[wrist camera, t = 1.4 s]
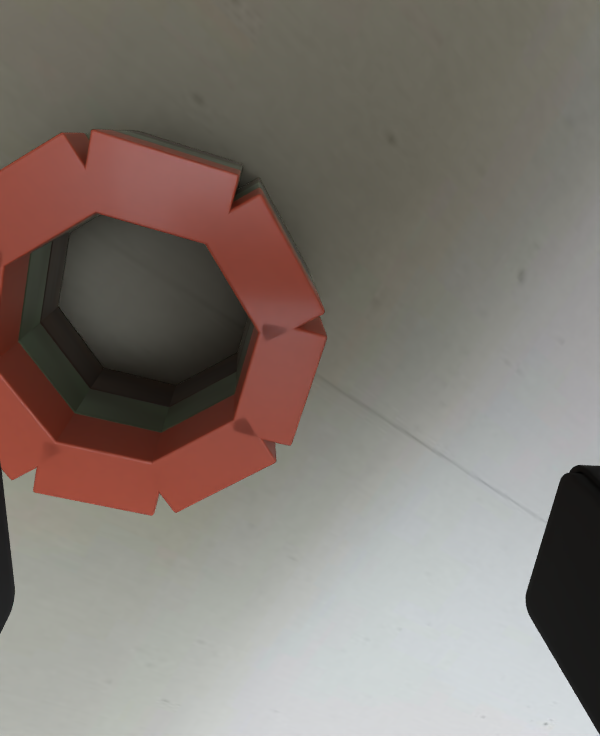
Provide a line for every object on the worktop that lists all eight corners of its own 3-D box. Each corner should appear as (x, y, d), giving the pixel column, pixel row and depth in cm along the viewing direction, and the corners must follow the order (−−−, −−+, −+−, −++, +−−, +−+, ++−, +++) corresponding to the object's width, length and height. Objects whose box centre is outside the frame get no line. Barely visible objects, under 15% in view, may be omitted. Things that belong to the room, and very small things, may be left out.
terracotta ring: (-27, 86, 16) (-64, 80, 14) (356, 206, 17) (369, 214, 16) (-59, 436, 19) (-92, 468, 17) (259, 503, 21) (260, 538, 19)
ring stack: (27, 96, 19) (-27, 86, 16) (338, 194, 21) (356, 206, 17) (-9, 387, 23) (-59, 436, 19) (259, 448, 25) (259, 503, 21)
